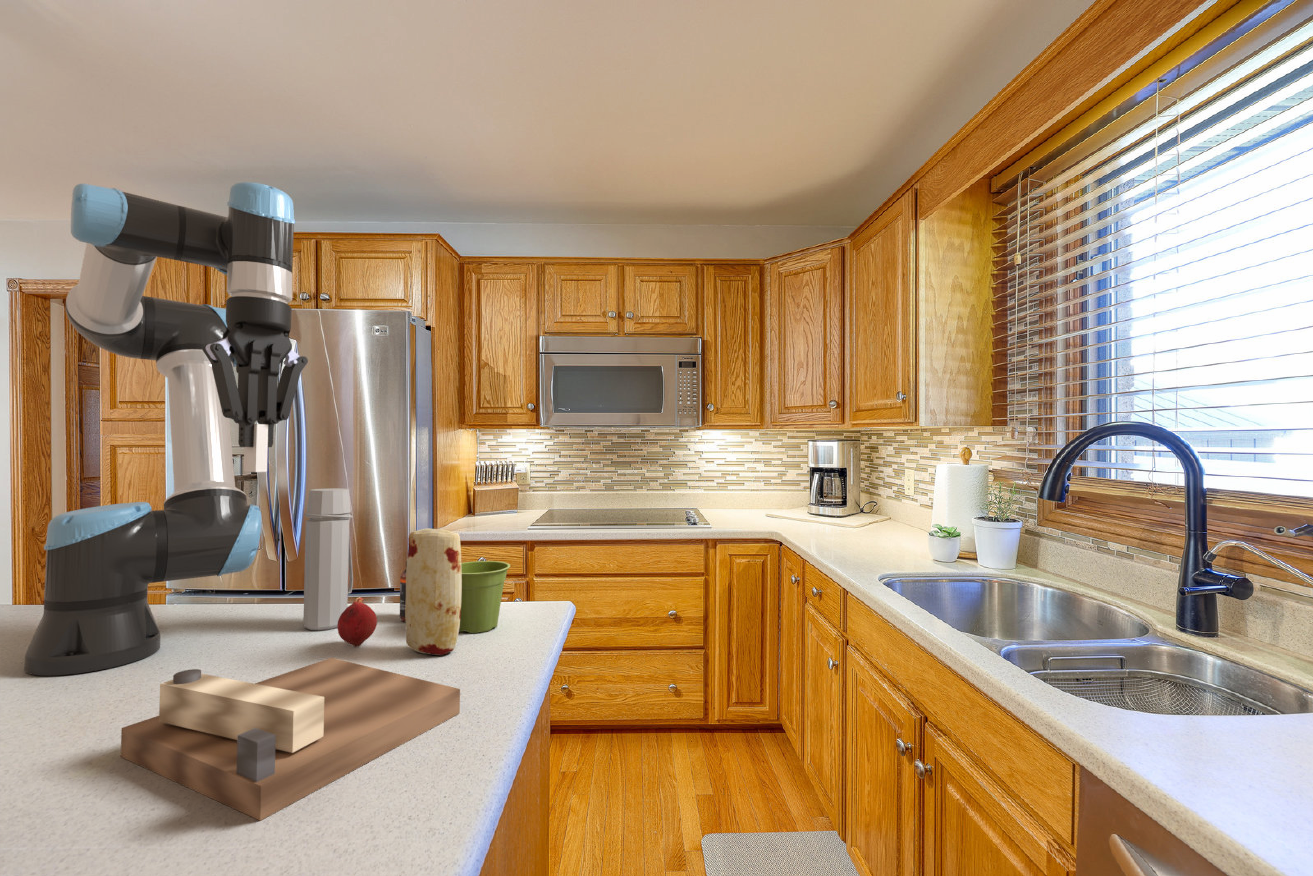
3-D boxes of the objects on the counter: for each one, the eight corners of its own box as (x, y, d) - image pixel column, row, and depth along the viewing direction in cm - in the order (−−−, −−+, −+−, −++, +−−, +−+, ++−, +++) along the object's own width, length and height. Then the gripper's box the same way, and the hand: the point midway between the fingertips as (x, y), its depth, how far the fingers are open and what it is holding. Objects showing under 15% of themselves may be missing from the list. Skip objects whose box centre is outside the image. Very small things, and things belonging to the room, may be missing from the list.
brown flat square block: (120, 756, 63) (122, 694, 63) (331, 678, 84) (332, 632, 84) (260, 820, 52) (262, 746, 52) (459, 713, 74) (460, 660, 74)
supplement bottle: (439, 617, 116) (440, 558, 116) (415, 625, 110) (416, 564, 111) (416, 613, 118) (418, 556, 118) (392, 621, 113) (393, 561, 113)
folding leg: (159, 721, 63) (160, 677, 64) (193, 708, 67) (194, 666, 67) (292, 752, 57) (293, 703, 57) (323, 736, 61) (324, 690, 61)
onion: (359, 653, 95) (361, 603, 95) (328, 651, 96) (329, 601, 96) (383, 642, 100) (384, 594, 101) (353, 639, 102) (354, 592, 102)
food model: (393, 655, 94) (396, 528, 95) (421, 642, 101) (423, 524, 101) (447, 662, 92) (449, 531, 92) (471, 648, 98) (474, 526, 98)
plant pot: (484, 615, 117) (485, 558, 118) (522, 627, 110) (523, 566, 110) (428, 628, 108) (430, 566, 109) (466, 642, 101) (467, 576, 101)
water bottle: (323, 634, 104) (327, 491, 105) (291, 628, 107) (295, 489, 108) (366, 620, 113) (369, 488, 113) (335, 615, 116) (338, 487, 116)
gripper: (289, 313, 90) (285, 469, 89) (190, 291, 78) (185, 472, 77) (322, 308, 86) (318, 471, 86) (224, 285, 75) (219, 473, 74)
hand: (255, 471), depth 82 cm, fingers closed
